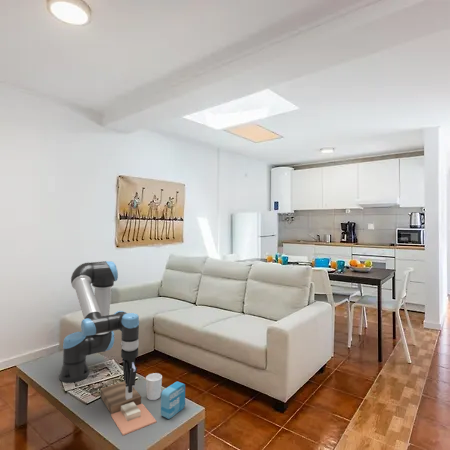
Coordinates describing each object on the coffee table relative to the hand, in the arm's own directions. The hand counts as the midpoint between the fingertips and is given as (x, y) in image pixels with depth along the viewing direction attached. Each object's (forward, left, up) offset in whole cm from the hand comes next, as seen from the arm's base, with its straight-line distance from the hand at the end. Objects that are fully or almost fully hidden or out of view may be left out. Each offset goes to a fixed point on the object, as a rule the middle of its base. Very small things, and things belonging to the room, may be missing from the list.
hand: (128, 397), depth 148 cm
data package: (+11, +17, -7) cm, 22 cm away
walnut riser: (-12, 0, -7) cm, 13 cm away
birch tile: (+2, 0, -6) cm, 7 cm away
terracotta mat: (+6, 0, -7) cm, 9 cm away
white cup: (-6, +15, -7) cm, 18 cm away
